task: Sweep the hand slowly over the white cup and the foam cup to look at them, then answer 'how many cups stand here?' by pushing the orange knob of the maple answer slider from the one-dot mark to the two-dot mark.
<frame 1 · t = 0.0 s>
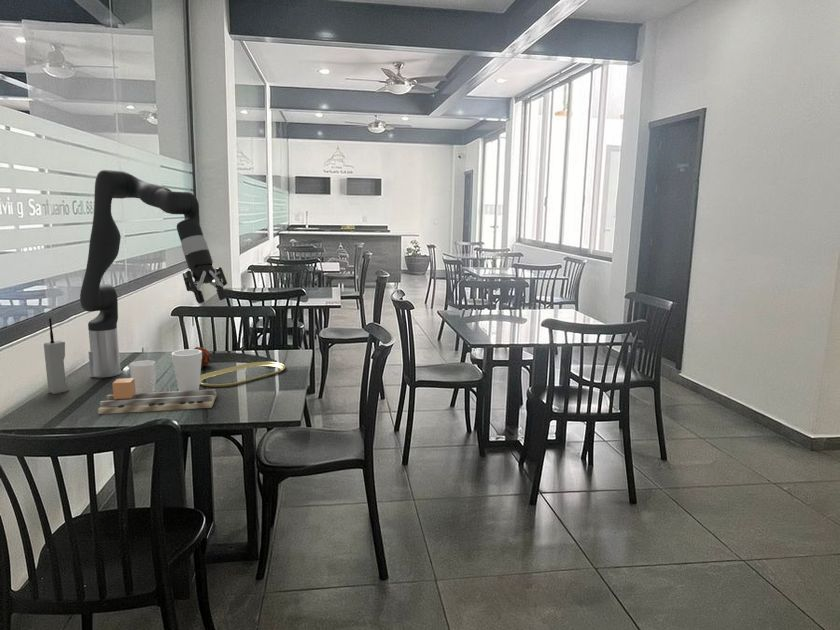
hand: (212, 301, 189), 31 cm above the table, tool tilted 20°, fingers open, 8 cm apart
foam cup: (189, 390, 202), on the table
answer slider: (124, 390, 184), point 5 cm above the table, slide at -10.0 cm
vintage mobile phone: (59, 392, 200), on the table
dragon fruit: (197, 367, 233), on the table
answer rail: (160, 404, 187), on the table
gold oval ring: (242, 376, 221), on the table
white cup: (144, 392, 200), on the table
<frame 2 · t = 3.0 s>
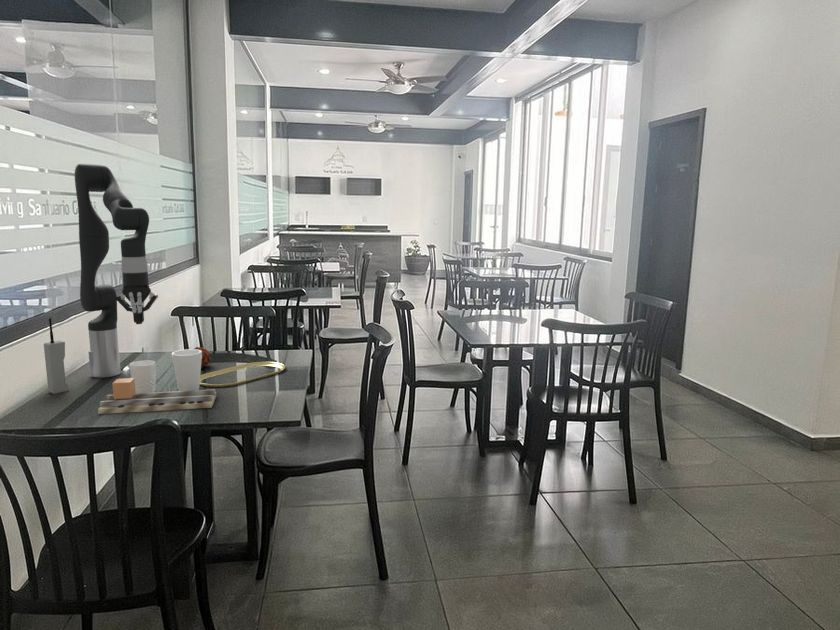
hand: (139, 323, 196), 23 cm above the table, tool pointing down, fingers closed
nothing on the table moved.
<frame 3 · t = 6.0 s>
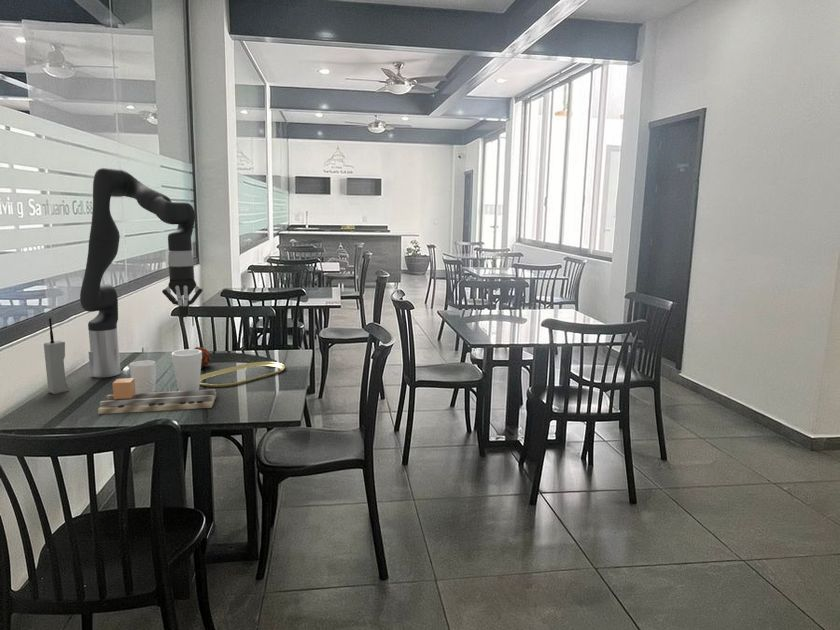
hand: (184, 316, 198), 25 cm above the table, tool pointing down, fingers closed
nothing on the table moved.
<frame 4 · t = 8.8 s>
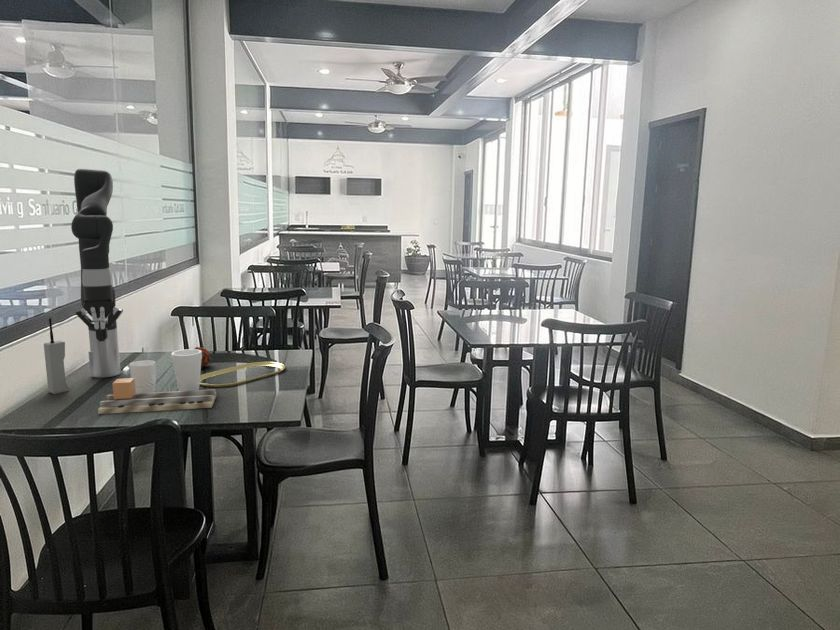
hand: (102, 340, 180), 21 cm above the table, tool pointing down, fingers closed
nothing on the table moved.
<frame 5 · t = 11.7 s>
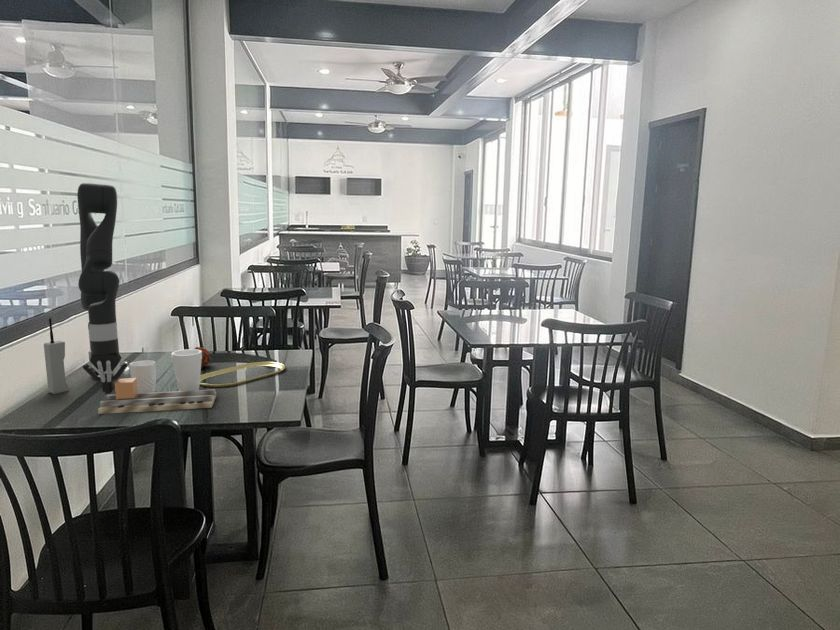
hand: (108, 393, 183), 5 cm above the table, tool pointing down, fingers closed
answer slider: (126, 390, 184), point 5 cm above the table, slide at -9.3 cm, touching gripper
everything else where it was.
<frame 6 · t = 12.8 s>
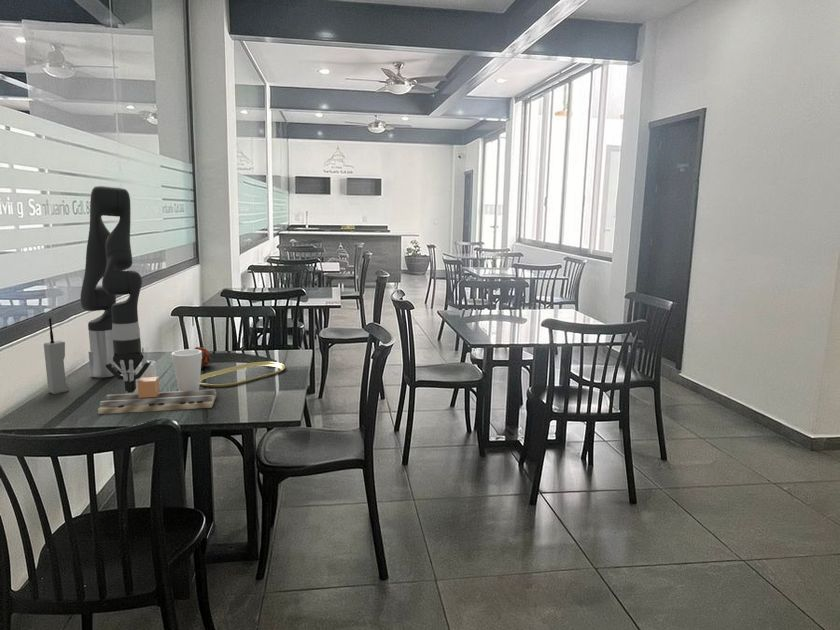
hand: (130, 392, 184), 5 cm above the table, tool pointing down, fingers closed
answer slider: (148, 389, 185), point 5 cm above the table, slide at -3.0 cm, touching gripper
everything else where it was.
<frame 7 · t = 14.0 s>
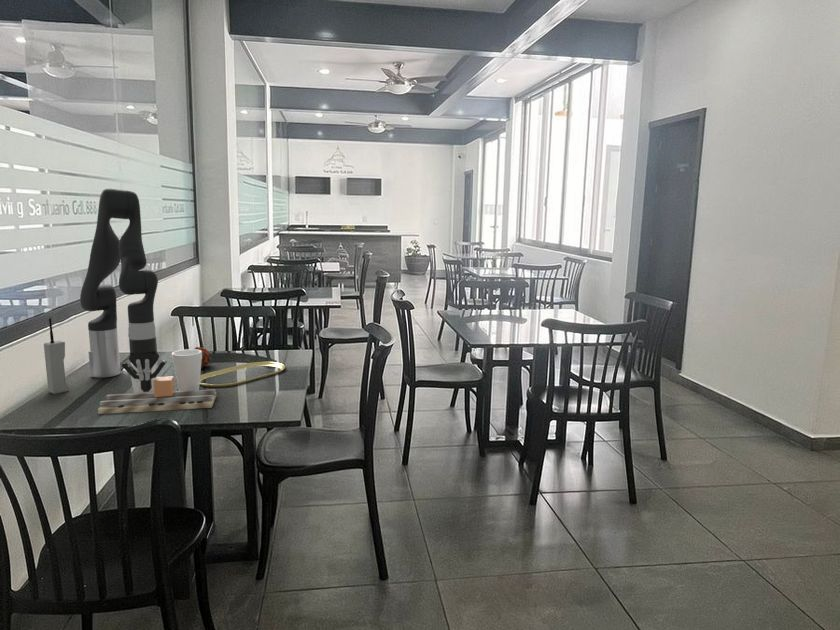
hand: (146, 391, 185), 5 cm above the table, tool pointing down, fingers closed
answer slider: (164, 388, 186), point 5 cm above the table, slide at 1.5 cm, touching gripper
everything else where it was.
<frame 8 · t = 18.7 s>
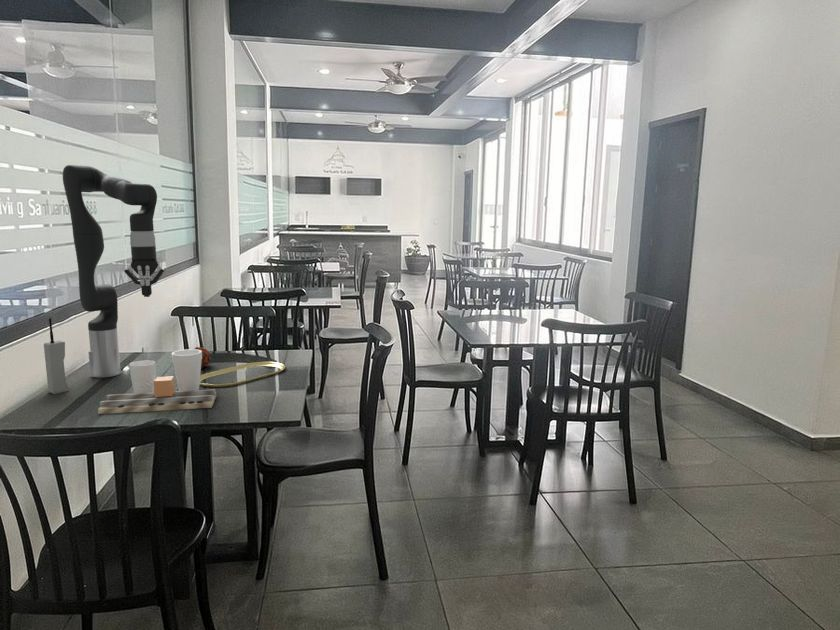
hand: (146, 296, 202), 31 cm above the table, tool pointing down, fingers closed
answer slider: (164, 388, 186), point 5 cm above the table, slide at 1.6 cm
everything else where it was.
at the end: answer slider slide at 1.6 cm; foam cup moved 0.2 cm from its start; white cup moved 0.2 cm from its start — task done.
